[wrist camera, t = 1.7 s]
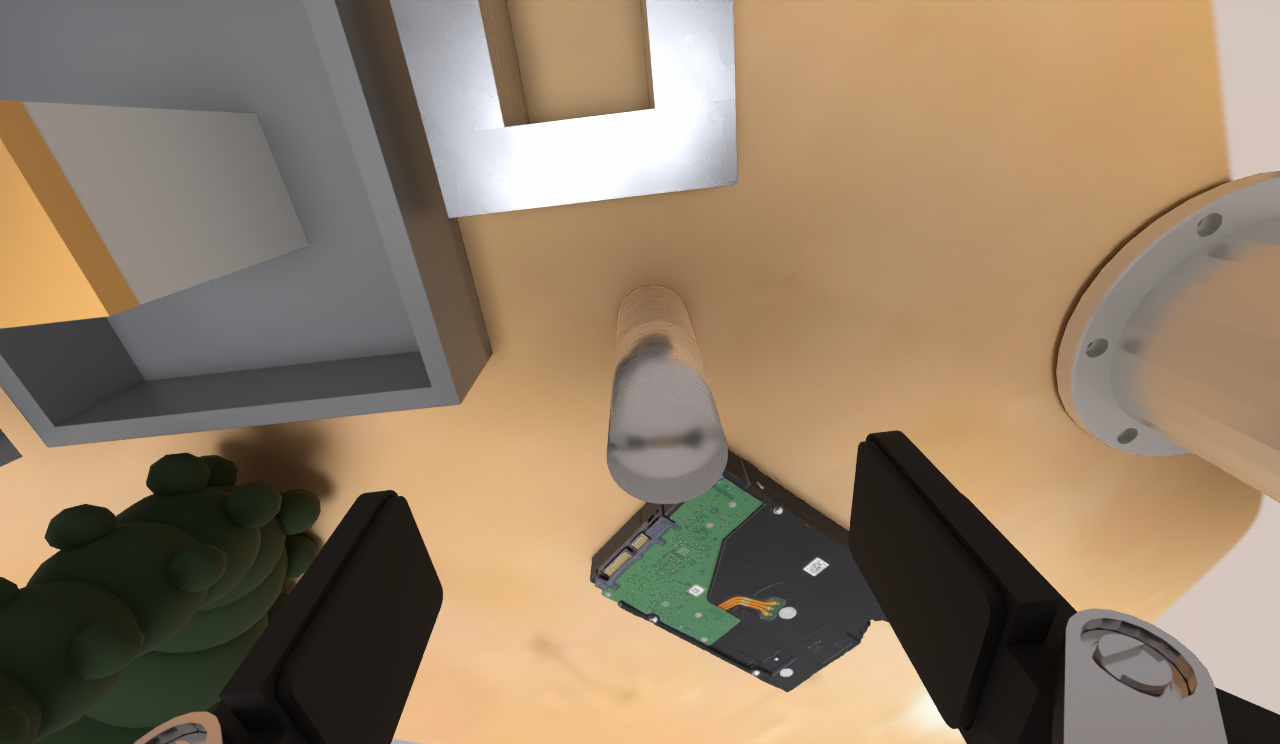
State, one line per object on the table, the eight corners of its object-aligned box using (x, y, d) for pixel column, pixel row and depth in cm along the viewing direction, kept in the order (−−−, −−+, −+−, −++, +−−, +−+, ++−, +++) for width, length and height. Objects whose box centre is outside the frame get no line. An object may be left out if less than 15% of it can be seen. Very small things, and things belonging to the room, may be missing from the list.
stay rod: (684, 281, 20) (726, 398, 11) (689, 347, 22) (730, 497, 13) (613, 289, 21) (598, 410, 12) (622, 354, 22) (615, 509, 13)
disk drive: (901, 557, 28) (706, 430, 24) (927, 598, 26) (715, 464, 22) (776, 651, 32) (588, 555, 28) (789, 696, 29) (584, 597, 25)
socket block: (704, -148, 15) (728, -239, 11) (716, 174, 19) (737, 183, 15) (410, -106, 15) (340, -182, 11) (483, 201, 19) (448, 217, 15)
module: (256, 113, 17) (-25, 98, 10) (309, 245, 19) (109, 316, 12) (130, 129, 17) (-241, 126, 10) (196, 259, 19) (-72, 336, 12)
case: (368, -114, 15) (270, -205, 11) (492, 353, 22) (460, 404, 18) (-115, -45, 15) (-380, -108, 11) (153, 390, 22) (48, 447, 18)
